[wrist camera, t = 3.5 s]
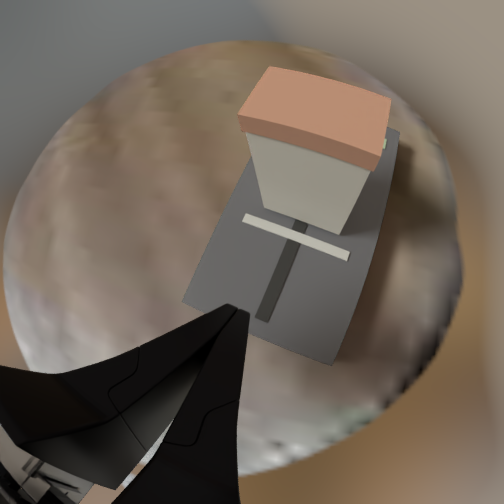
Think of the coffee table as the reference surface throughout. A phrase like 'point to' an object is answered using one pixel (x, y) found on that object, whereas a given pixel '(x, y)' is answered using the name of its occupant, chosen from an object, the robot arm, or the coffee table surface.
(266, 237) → the plate
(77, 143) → the coffee table surface
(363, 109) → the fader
